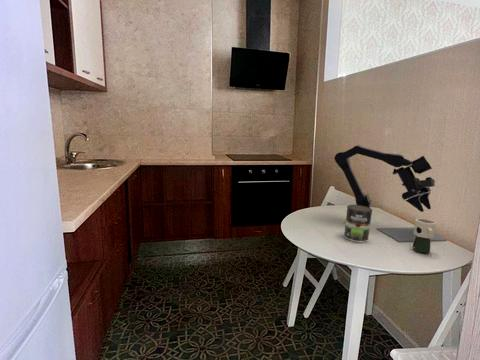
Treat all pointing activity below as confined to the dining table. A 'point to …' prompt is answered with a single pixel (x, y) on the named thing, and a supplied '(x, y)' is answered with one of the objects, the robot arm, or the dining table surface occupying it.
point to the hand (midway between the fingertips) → (426, 210)
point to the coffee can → (357, 223)
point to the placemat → (405, 234)
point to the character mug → (423, 234)
